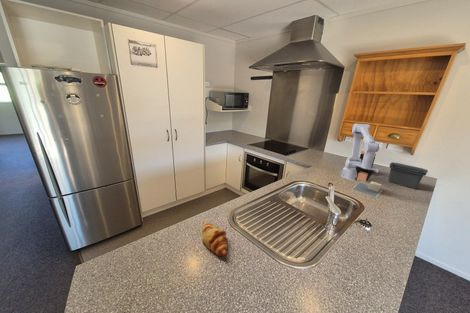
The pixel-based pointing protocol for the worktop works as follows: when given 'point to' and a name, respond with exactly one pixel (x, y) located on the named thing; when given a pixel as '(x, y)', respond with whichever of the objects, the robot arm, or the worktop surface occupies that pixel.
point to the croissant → (215, 239)
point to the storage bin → (406, 175)
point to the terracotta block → (362, 176)
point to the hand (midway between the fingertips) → (362, 178)
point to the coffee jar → (361, 162)
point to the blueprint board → (368, 189)
